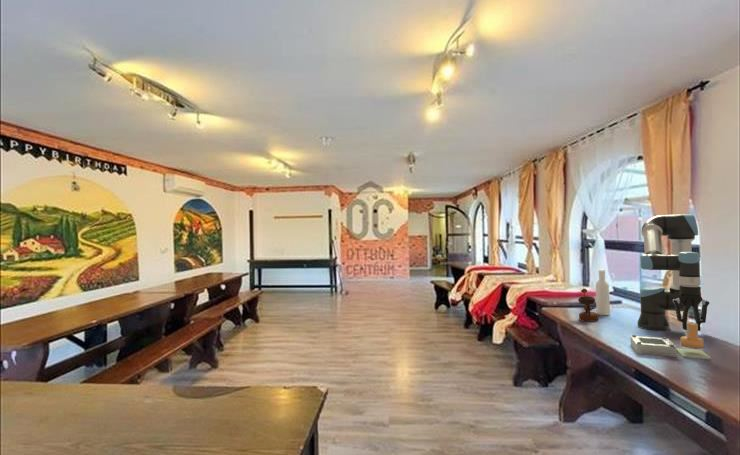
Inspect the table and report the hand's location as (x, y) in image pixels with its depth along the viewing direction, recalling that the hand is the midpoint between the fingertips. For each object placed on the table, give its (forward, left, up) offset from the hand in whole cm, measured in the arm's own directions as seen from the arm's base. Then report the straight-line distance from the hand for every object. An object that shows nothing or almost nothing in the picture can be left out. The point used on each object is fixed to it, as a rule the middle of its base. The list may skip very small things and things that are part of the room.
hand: (691, 337), depth 178 cm
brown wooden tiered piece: (-59, -37, -8) cm, 70 cm away
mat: (0, 0, -8) cm, 8 cm away
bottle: (-80, -27, -8) cm, 85 cm away
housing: (0, -15, -8) cm, 17 cm away
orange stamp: (0, 0, -4) cm, 4 cm away
